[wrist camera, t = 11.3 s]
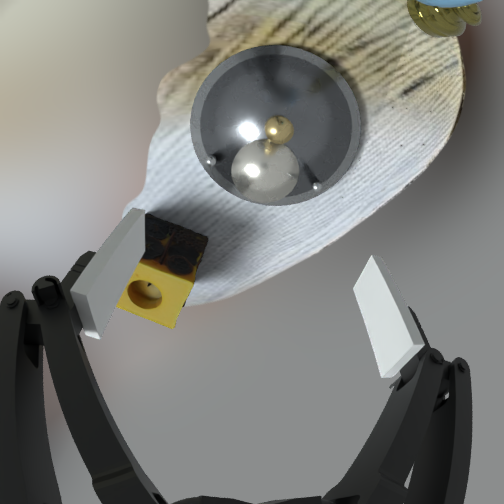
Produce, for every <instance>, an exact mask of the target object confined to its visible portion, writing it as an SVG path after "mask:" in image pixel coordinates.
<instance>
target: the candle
mask: <svg viewBox="0 0 504 504" xmlns="http://www.w3.org/2000/svg"><path fill="white" fill-rule="evenodd" d="M207 242H208V237H207V236H202V235H201V234H198V233H195V232H193V231H192V230H189V229H186V228H184V227H181V226H179V225H175V224H173V223H170V222H168V221H164V220H161V219H158V218H156V217H154V216H152V215H151V214H145V252H144V254H143V256H142V258H141V259H140V261H139V263H138V265H137V267H136V268H135V270H134V272H133V274H132V276H131V278H130V280H129V282H128V283H127V285H126V287H125V289H124V291H123V293H122V295H121V297H120V299H119V301H118V303H117V305H116V307H118V308H120V309H123V310H126V311H128V312H131V313H133V314H135V315H138V316H140V317H143V318H146V319H148V320H151V321H154V322H156V323H158V324H161V325H163V326H166V327H168V328H171V329H172V328H174V327H175V324H176V319H177V317H178V315H179V313H180V311H181V309H182V307H184V305H185V302H186V299H187V297H188V296H189V294H190V291H191V289H192V287H193V285H194V282H195V275H196V271H197V268H198V266H199V264H200V262H201V259H202V257H203V254H204V250H205V247H206V246H207Z"/></svg>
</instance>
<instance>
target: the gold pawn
mask: <svg viewBox="0 0 504 504" xmlns="http://www.w3.org/2000/svg"><path fill="white" fill-rule="evenodd" d="M407 7H408V11H409V14H410V16H411V18H412V19H413V21H414V22H415V23H416V25H417V26H418V27H419V28H420V29H421V30H423V31H424V32H425V33H427V34H428V35H431V36H433V37H450V36H459V35H461V34H462V33H463V32H464V30H465V28H466V23H468V24H470V25H479V24H480V23H481V20H482V15H481V11H480V9H479V6H478V4H477V3H473V4H470V5H466V6H461V7H451V8H442V7H438V6H430V5H426V4H423V3H421V2H419V1H417V0H407Z"/></svg>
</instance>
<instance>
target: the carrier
mask: <svg viewBox="0 0 504 504" xmlns="http://www.w3.org/2000/svg"><path fill="white" fill-rule="evenodd" d="M190 128H191V137H192V142H193V146H194V149H195V152H196V154H197V157H198V159H199V161H200V163H201V164H202V166H203V167H204V169H205V170H206V172H207V173H208V174H209V175H210V177H211V178H212V179H213V180H214V181H215V182H216V183H218V184H219V185H220V186H221V187H222V188H224V189H225V190H226V191H228V192H230V193H231V194H233V195H235V196H237V197H239V198H241V199H244V200H246V201H250V202H253V203H256V204H262V205H272V206H282V205H291V204H297V203H300V202H304V201H307V200H309V199H312V198H314V197H316V196H318V195H320V194H322V193H323V192H325V191H326V190H328V189H329V188H330V187H332V186H333V185H334V184H335V183H336V182H337V181H338V180H339V179H340V178H341V177H342V176H343V175H344V173H345V172H346V171H347V170H348V168H349V166H350V165H351V163H352V161H353V159H354V157H355V154H356V152H357V149H358V145H359V141H360V134H361V120H360V112H359V108H358V105H357V101H356V99H355V96H354V94H353V92H352V90H351V88H350V87H349V85H348V83H347V82H346V80H345V79H344V78H343V77H342V76H341V74H340V73H339V72H338V71H337V70H336V69H335V68H334V67H333V66H331V65H330V64H329V63H327V62H326V61H325V60H323V59H322V58H320V57H318V56H316V55H314V54H312V53H310V52H308V51H305V50H302V49H299V48H295V47H290V46H281V45H267V46H260V47H254V48H250V49H247V50H244V51H241V52H239V53H237V54H235V55H233V56H231V57H229V58H228V59H226V60H225V61H223V62H222V63H221V64H219V65H218V66H217V67H216V68H215V69H214V70H213V71H212V72H211V73H210V74H209V75H208V77H207V78H206V79H205V80H204V82H203V84H202V85H201V87H200V88H199V90H198V93H197V95H196V97H195V100H194V103H193V107H192V112H191V119H190Z"/></svg>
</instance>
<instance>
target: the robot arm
mask: <svg viewBox="0 0 504 504" xmlns="http://www.w3.org/2000/svg"><path fill="white" fill-rule="evenodd" d="M417 1H419V2H421V3H423V4H426V5H430V6H438V7H442V8H451V7H461V6H466V5H470V4H473V3H477V2H479V1H482V0H417ZM144 252H145V210H142V209H136V208H132V209H131V210H130V211H129V212H128V214H127V215H126V216H125V217H124V218H123V220H122V221H121V222H120V223H119V225H118V226H117V227H116V228H115V230H114V231H113V232H112V233H111V235H110V236H109V237H108V238H107V239H106V241H105V242H104V243H103V245H102V246H101V247H100V249H99V250H98V251H97V253H96V252H92V251H88V252H86V253H85V254H83V255H82V256H80V258H79V259H78V260H77V261H76V263H75V265H73V267H72V268H71V271H69V272H68V273H67V275H66V277H65V278H64V279H63V280H62V282H61V283H60V281H59V279H58V278H56V277H55V276H50V275H49V276H44V277H42V278H39V279H38V280H37V281H36V282H35V283H34V285H33V286H32V294H33V296H34V299H35V300H25V298H24V296H23V294H22V293H21V292H20V291H11V292H9V293H8V294H6V295H5V296H4V297H3V299H2V301H1V304H0V504H62V502H61V496H60V492H59V487H58V483H57V480H56V476H55V471H54V467H53V463H52V458H51V452H50V447H49V441H48V434H47V427H46V418H45V408H44V394H43V393H44V392H43V346H44V347H45V351H46V356H47V360H48V364H49V368H50V372H51V376H52V379H53V383H54V387H55V390H56V393H57V396H58V400H59V403H60V405H61V408H62V411H63V414H64V417H65V419H66V422H67V425H68V427H69V430H70V432H71V435H72V437H73V439H74V442H75V444H76V446H77V448H78V450H79V453H80V455H81V457H82V459H83V461H84V463H85V465H86V467H87V469H88V471H89V473H90V475H91V477H92V485H93V487H94V490H95V492H96V494H97V496H98V498H99V499H100V501H101V503H102V504H168V503H167V502H166V500H165V499H164V498H163V496H162V495H161V494H160V492H159V491H158V490H157V488H156V487H155V486H154V484H153V483H152V482H151V480H150V479H149V478H148V477H147V475H146V474H145V473H144V471H143V470H142V468H141V466H140V465H139V463H138V462H137V460H136V459H135V457H134V456H133V454H132V452H131V450H130V448H129V447H128V445H127V443H126V441H125V440H124V438H123V436H122V434H121V432H120V431H119V429H118V427H117V425H116V423H115V421H114V419H113V417H112V415H111V413H110V411H109V409H108V407H107V404H106V402H105V400H104V398H103V395H102V393H101V391H100V389H99V386H98V384H97V382H96V379H95V377H94V374H93V371H92V369H91V366H90V363H89V361H88V358H87V355H86V352H85V349H84V346H83V343H82V340H81V337H80V335H79V333H80V331H81V330H82V328H83V329H84V332H85V334H86V335H87V336H90V337H93V338H97V339H101V337H102V335H103V333H104V330H105V328H106V326H107V324H108V322H109V320H110V318H111V316H112V313H113V311H114V309H115V307H116V305H117V303H118V301H119V299H120V297H121V295H122V293H123V291H124V289H125V287H126V285H127V283H128V282H129V280H130V278H131V276H132V274H133V272H134V270H135V268H136V267H137V265H138V263H139V261H140V259H141V258H142V256H143V254H144ZM353 290H354V293H355V296H356V299H357V301H358V304H359V307H360V310H361V313H362V315H363V319H364V322H365V325H366V328H367V331H368V334H369V337H370V341H371V344H372V347H373V350H374V354H375V357H376V361H377V364H378V368H379V371H380V375H381V377H382V378H384V377H393V376H394V375H395V374H397V373H398V372H399V371H400V373H401V376H400V377H399V378H398V379H397V380H396V381H395V382H394V383H393V384H392V385H391V386H390V387H389V388H391V387H393V386H394V389H393V391H392V393H391V395H390V397H389V399H388V402H387V404H386V406H385V408H384V410H383V412H382V414H381V416H380V418H379V420H378V422H377V424H376V425H375V427H374V429H373V431H372V433H371V434H370V436H369V438H368V439H367V441H366V443H365V445H364V446H363V448H362V450H361V451H360V453H359V454H358V456H357V458H356V459H355V461H354V462H353V464H352V466H351V467H350V468H349V470H348V471H347V473H346V474H345V476H344V477H343V479H342V480H341V481H340V482H339V483H338V484H337V485H336V486H335V487H333V488H332V489H331V490H330V491H328V493H327V494H326V495H325V496H324V497H323V498H322V499H321V496H315V497H306V498H294V499H284V500H274V501H269V502H264V503H259V504H403V503H404V504H463V503H464V499H465V493H466V488H467V482H468V475H469V467H470V458H471V445H472V392H471V377H470V369H469V366H468V364H467V362H466V361H465V360H464V359H462V358H460V357H458V358H456V359H455V360H454V361H453V362H452V363H451V362H448V361H445V360H444V358H443V356H442V354H441V353H440V352H439V351H438V350H436V349H434V348H431V347H430V345H429V343H428V340H427V338H426V336H425V334H424V331H423V329H422V328H421V325H420V323H419V322H418V319H417V316H416V314H415V313H414V312H413V311H412V309H411V308H410V307H408V306H407V304H406V302H405V300H404V298H403V296H402V294H401V292H400V290H399V288H398V286H397V285H396V283H395V281H394V279H393V277H392V275H391V273H390V271H389V270H388V268H387V266H386V264H385V262H384V261H383V259H382V257H379V256H374V255H371V257H370V259H369V261H368V262H367V265H366V266H365V268H364V270H363V272H362V274H361V275H360V277H359V279H358V281H357V283H356V284H355V286H354V288H353ZM448 392H449V397H448V398H447V399H445V395H446V394H447V393H448ZM414 461H415V462H414ZM413 464H414V466H413ZM412 466H413V471H412V475H411V479H410V483H409V487H408V489H407V488H406V487H404V483H405V481H406V479H407V477H408V475H409V473H410V470H411V468H412ZM173 504H252V503H247V502H244V501H240V500H236V499H230V498H219V497H209V496H199V497H193V498H187V499H183V500H180V501H177V502H174V503H173Z"/></svg>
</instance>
